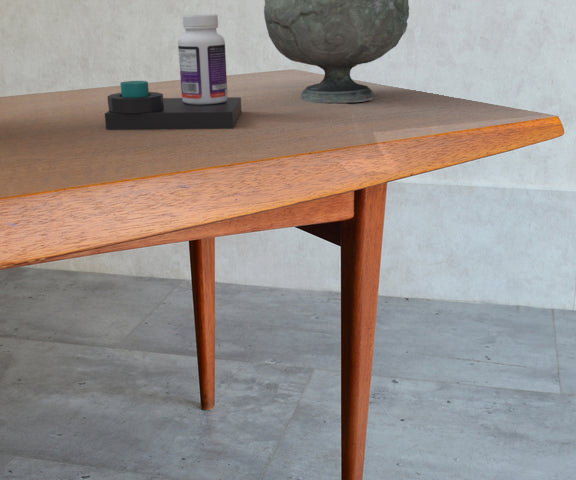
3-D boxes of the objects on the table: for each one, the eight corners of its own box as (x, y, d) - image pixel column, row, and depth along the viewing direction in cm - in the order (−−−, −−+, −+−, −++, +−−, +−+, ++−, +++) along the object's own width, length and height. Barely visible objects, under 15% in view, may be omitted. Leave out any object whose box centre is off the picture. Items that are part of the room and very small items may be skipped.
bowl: (359, 87, 115) (361, -17, 109) (433, 101, 98) (440, -20, 93) (242, 95, 107) (238, -16, 101) (301, 113, 91) (300, -19, 85)
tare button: (119, 100, 81) (117, 83, 80) (125, 96, 83) (123, 80, 83) (146, 100, 81) (144, 83, 80) (151, 96, 83) (150, 80, 83)
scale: (105, 131, 81) (101, 98, 79) (130, 114, 92) (127, 85, 91) (232, 130, 80) (231, 97, 79) (241, 112, 92) (240, 83, 90)
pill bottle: (224, 98, 90) (220, 13, 87) (230, 104, 85) (226, 15, 82) (180, 100, 89) (174, 14, 86) (183, 106, 84) (178, 16, 81)
